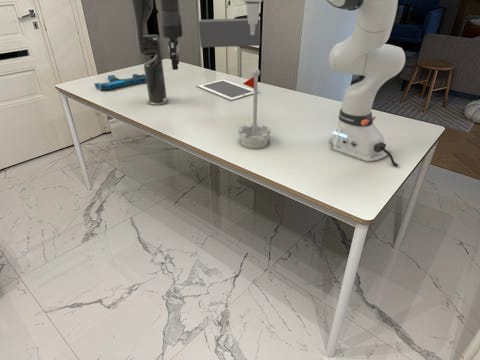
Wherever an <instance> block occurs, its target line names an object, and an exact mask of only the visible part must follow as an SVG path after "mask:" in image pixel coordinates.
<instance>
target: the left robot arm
mask: <svg viewBox="0 0 480 360" xmlns="http://www.w3.org/2000/svg"><path fill="white" fill-rule="evenodd" d="M131 6H132V12H133V18H134V23H135V34H136V35H135V36H136V44H137V45H136V46H137V50H138V53H139V55H140V56H141V57H149V56H154V57H153V58H152V59H150V60H148V61H145V63H144V64H143V70H144V75H145V76H146V81H145V83H146V89H147V95H148V103H149V104H150V105H154V106H159V105H165V104H166V103H167V102H168V97H167V89H166V81H165V73H164V66H163V58H162V56H163V55H162V45H161V39H160V37H159V35H158V34H147V35H146V34H145V33H144V32H145V27H146V25H147V22H148V20H149V18H150V16H151V14H152V11H153V9H154V0H131ZM159 7H160V8H159V9H160V21H161V23H160V24H161V29H162V30H161V32H162V36H163V37H164V38H165V39H169V40H168V42H167V46H168V52H169V59H170V60H171V68H172V70H173V71H178V70H179V64H180V57H179V54H180V52H179V51H180V41H179V40H178V39H179V38H182V37H183V25H182V15H181V10H180V0H159ZM144 34H145V35H144Z"/></svg>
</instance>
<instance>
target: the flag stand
mask: <svg viewBox="0 0 480 360" xmlns="http://www.w3.org/2000/svg"><path fill="white" fill-rule="evenodd" d="M260 74H261V70H260V69H259V68H258V67H256V68H253V69H252V70H251V75H252V77H250V78H249V79H248V80H246V81H245V82H243V83H242V85H243V86H246V87H248V88H251V89H253V90H254V93H253V94H252V95H253V96H252V97H253V98H252V99H253V101H252V123H250V124H251V125H250V126H248V124H244V125H243V124H242V125H241V126H240V127H241V128H238V138H239V139H240V143H241V145H242V146H244V147H245V148H249V149H260V148H264V147H266V146H267V145H268V142H269V141H268V140H269V139H270V138H271V132H272V131H271V128H268V126H267V125H265V124H262V125H261V126H258V123H257V122H258V119H257V118H258V93H259V90H258V87H259V85H258V84H259V76H260ZM257 92H258V93H257Z"/></svg>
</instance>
